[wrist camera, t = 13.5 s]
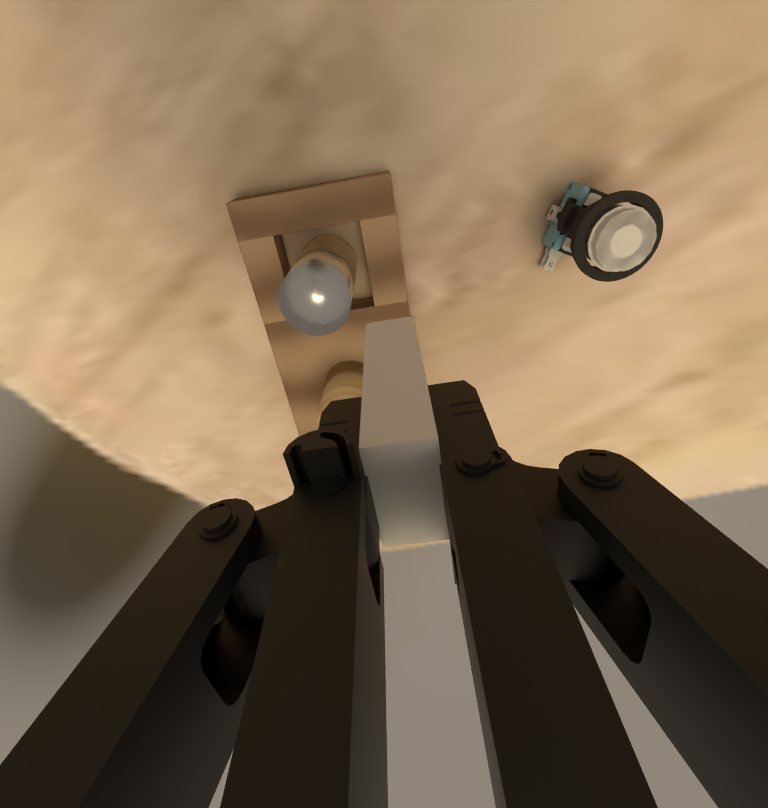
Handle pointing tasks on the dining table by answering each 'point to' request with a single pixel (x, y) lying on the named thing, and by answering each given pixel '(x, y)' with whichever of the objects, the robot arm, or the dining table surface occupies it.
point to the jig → (344, 349)
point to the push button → (603, 232)
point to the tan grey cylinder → (319, 287)
